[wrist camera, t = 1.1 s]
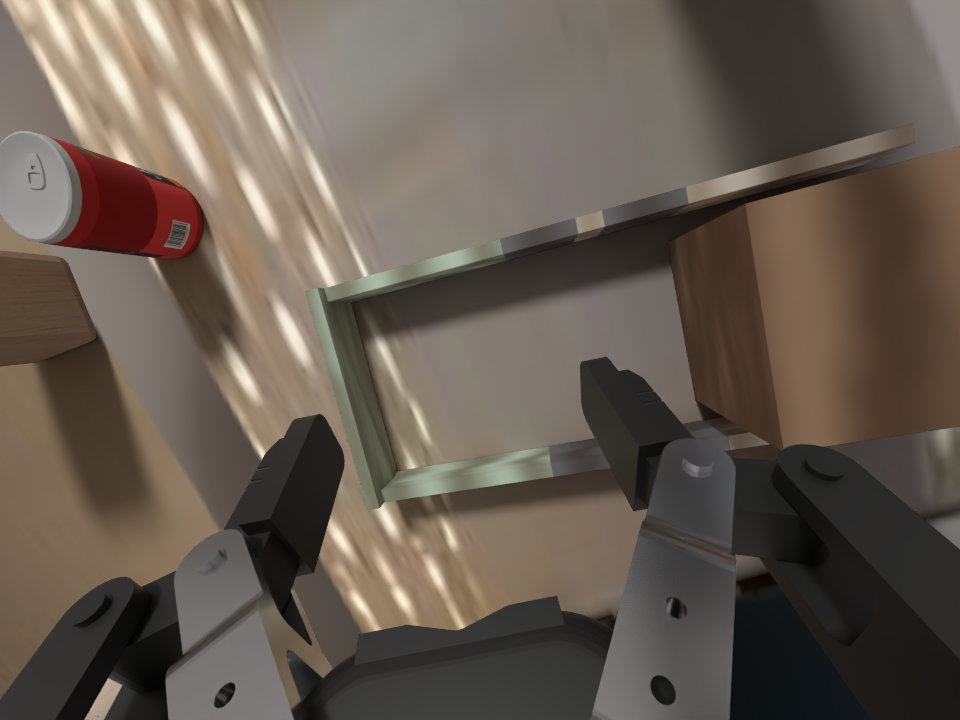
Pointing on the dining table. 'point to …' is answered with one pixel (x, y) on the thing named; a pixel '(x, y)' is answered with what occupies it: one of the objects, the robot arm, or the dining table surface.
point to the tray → (335, 301)
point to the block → (39, 309)
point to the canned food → (93, 200)
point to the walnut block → (830, 307)
